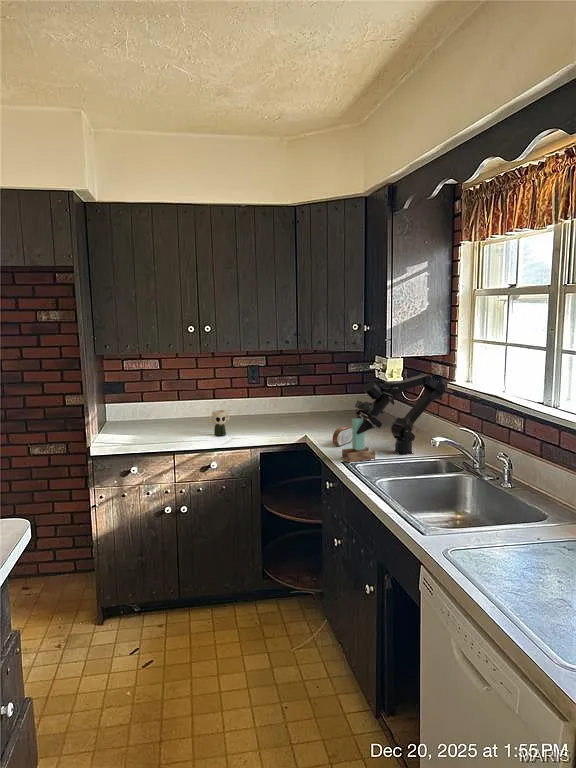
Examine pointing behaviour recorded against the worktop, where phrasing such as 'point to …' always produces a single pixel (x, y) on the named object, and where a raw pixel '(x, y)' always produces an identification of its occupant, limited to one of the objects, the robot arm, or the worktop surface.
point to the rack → (357, 454)
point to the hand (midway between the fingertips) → (355, 432)
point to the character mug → (219, 421)
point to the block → (357, 438)
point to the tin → (342, 436)
